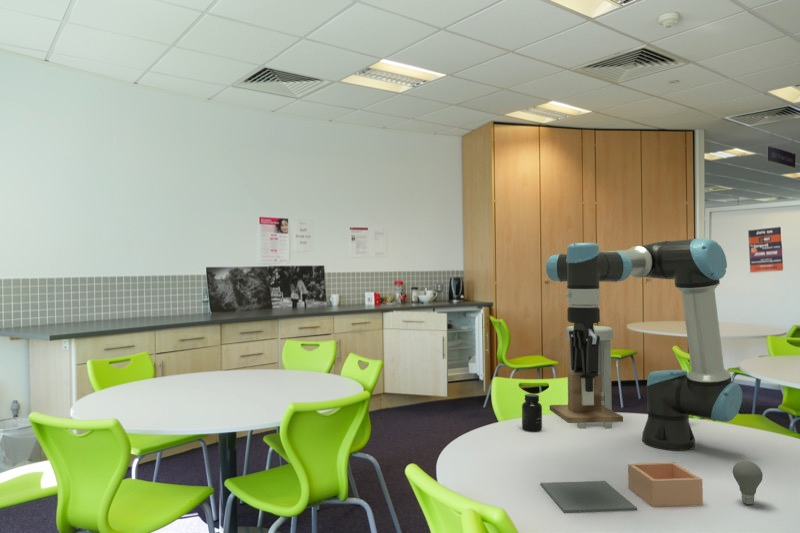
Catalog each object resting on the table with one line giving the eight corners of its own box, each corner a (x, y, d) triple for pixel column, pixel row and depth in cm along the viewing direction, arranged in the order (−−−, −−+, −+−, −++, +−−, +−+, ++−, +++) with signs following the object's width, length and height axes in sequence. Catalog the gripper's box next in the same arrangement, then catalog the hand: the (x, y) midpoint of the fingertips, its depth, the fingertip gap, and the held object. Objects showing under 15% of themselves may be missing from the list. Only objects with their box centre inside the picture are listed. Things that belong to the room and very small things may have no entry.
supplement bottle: (542, 432, 192) (542, 397, 192) (522, 431, 194) (521, 396, 194) (541, 427, 199) (541, 393, 199) (521, 426, 200) (521, 392, 201)
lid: (599, 408, 143) (599, 368, 144) (623, 421, 130) (622, 377, 131) (549, 409, 143) (549, 369, 143) (568, 423, 130) (567, 378, 130)
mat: (605, 483, 145) (605, 480, 145) (637, 510, 128) (637, 507, 128) (540, 485, 144) (540, 482, 144) (564, 512, 127) (564, 510, 127)
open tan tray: (674, 486, 143) (673, 462, 143) (702, 505, 131) (702, 479, 131) (628, 487, 142) (628, 463, 142) (652, 507, 130) (652, 480, 130)
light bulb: (727, 499, 134) (726, 457, 134) (751, 498, 135) (750, 456, 135) (744, 509, 128) (744, 465, 128) (769, 508, 129) (768, 464, 129)
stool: (563, 418, 211) (562, 325, 211) (605, 418, 210) (603, 325, 211) (574, 430, 195) (573, 329, 196) (619, 430, 195) (618, 329, 195)
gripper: (556, 304, 145) (557, 396, 144) (581, 308, 129) (582, 411, 128) (585, 304, 145) (586, 395, 145) (613, 308, 129) (614, 410, 129)
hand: (584, 402), depth 137 cm, fingers closed on lid, 3 cm apart
